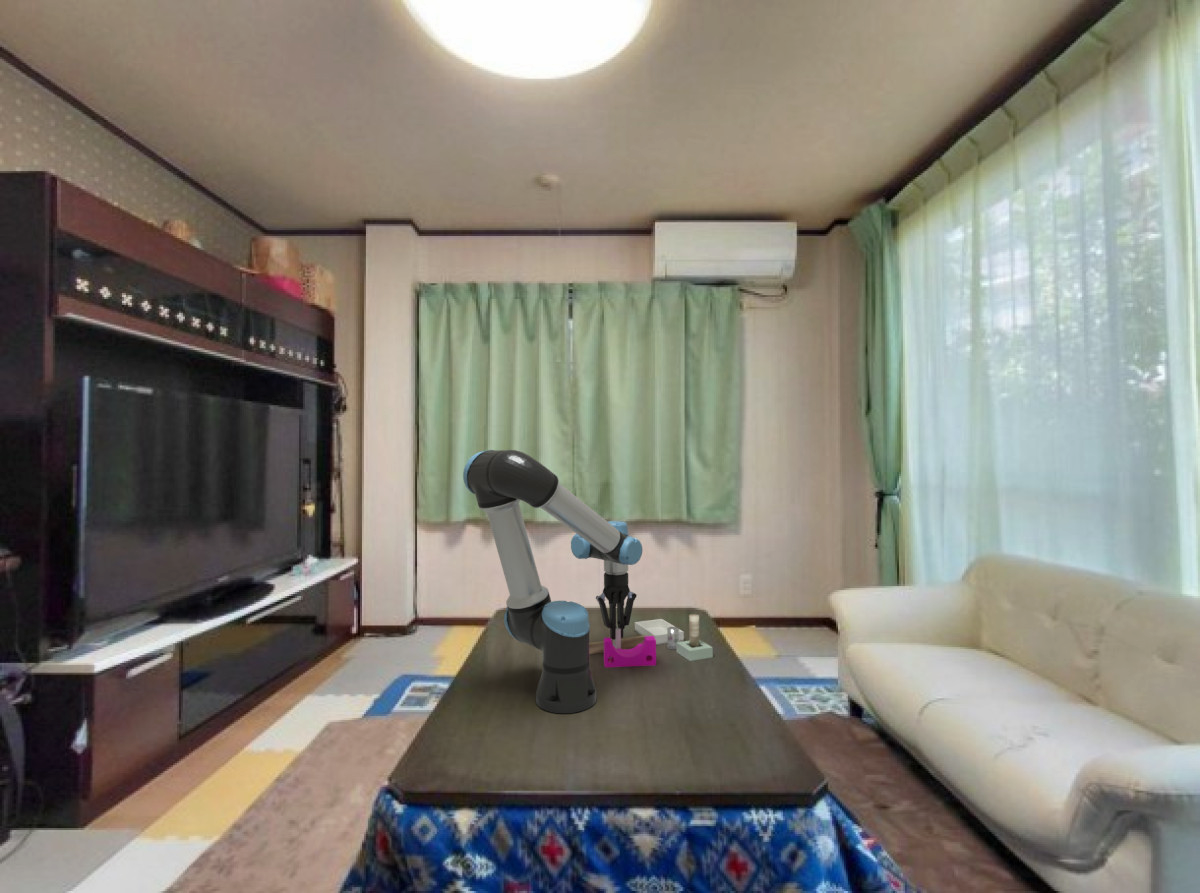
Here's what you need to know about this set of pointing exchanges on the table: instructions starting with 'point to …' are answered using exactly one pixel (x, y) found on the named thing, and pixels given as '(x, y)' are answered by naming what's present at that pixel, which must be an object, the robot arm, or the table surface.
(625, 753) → the table surface
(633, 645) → the brown wooden bar
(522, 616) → the robot arm
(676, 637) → the cylinder
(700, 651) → the socket
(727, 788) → the table surface
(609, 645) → the toy block
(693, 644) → the dowel
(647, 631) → the tray
